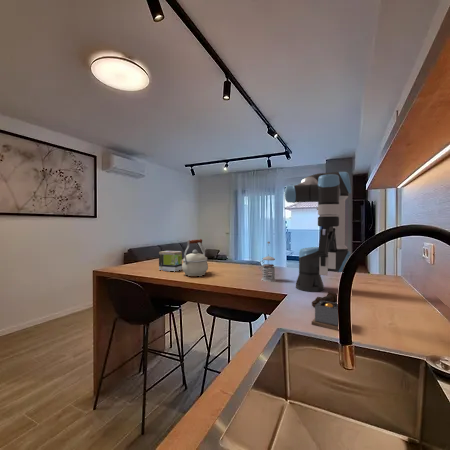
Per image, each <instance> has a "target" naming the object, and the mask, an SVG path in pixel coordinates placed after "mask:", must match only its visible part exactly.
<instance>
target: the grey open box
mask: <svg viewBox="0 0 450 450" xmlns="http://www.w3.org/2000/svg"><path fill="white" fill-rule="evenodd" d="M326 303H331V304H332V305H333V307H327V306H325V304H326ZM337 303H338V302H337ZM337 303H335V302H329V301H323V300H320V301H319V302H318V303H317V304H316V305H315V308H314V319H315V322H320V323H324V324H329V325H334V326H338V304H337Z"/></svg>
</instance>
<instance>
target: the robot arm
mask: <svg viewBox="0 0 450 450" xmlns="http://www.w3.org/2000/svg"><path fill="white" fill-rule="evenodd" d="M351 186H352V185H351V180H350V174H349V173H348V172H347V171H336V172H334V171H332V172H319V173H314V174H312V175H311V174H310V175H309V176H306V177H305V178H303V179H302V180H301V182H300V183H298V184H294V185H293V184H292V185H286V187H285V189H284V199H285V201H286V203H291V204H292V203H293V204H295V203H296V204H297V203H317V207H316V210H317V215H318V217H317V226H318V227H322V228H321V229H320V232H319V233H320V235H319V243H318V246H315V247H314V246H313V247H304V248H301V249H300V250H299V252H298V276H297V278H296V282H295V288H296V289H297V290H300V291H305V292H322V291H323V290H324V289H325V288H324V287H325V285H324V283H323V279H322V277H321V276H329V274H328V272H329V273H330V272H331V273H332V272H333V273H343V272H342V270H343V267H344V265H345V263H346V261H347V259H348V258H349V256H350V257H351V252H352V251H350V250H349V248H348V246H347V245H346V200H347V199H348V198H349V195H350V194H352V187H351Z"/></svg>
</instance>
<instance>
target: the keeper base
mask: <svg viewBox="0 0 450 450" xmlns="http://www.w3.org/2000/svg"><path fill="white" fill-rule="evenodd" d="M311 325H312V326H316V327H322V328H326V329H329V330H334V329H335V330H334V331H339V330H338V326H334V325H329V324H324V323H320V322H315V318H314V319H313V320H312V321H311Z"/></svg>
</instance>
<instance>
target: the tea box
mask: <svg viewBox="0 0 450 450" xmlns="http://www.w3.org/2000/svg"><path fill="white" fill-rule="evenodd" d="M182 264H183V252H182V251H181V250H164V251H163V250H162V251H159V252H158V270H163V271H162V272H170V271H174V272H173V273H176V272H175V271H177V272H180V271H183V270H182ZM179 270H180V271H179Z"/></svg>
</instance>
